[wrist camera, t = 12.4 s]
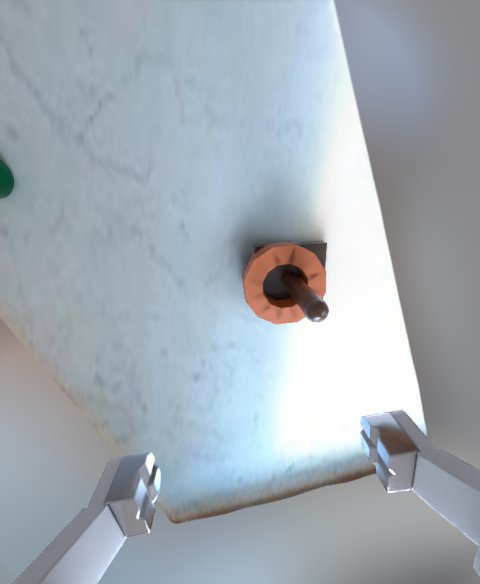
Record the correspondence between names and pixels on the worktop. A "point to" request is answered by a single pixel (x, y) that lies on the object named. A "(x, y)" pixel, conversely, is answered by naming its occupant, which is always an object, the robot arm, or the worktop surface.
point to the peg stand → (297, 284)
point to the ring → (270, 259)
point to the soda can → (5, 180)
